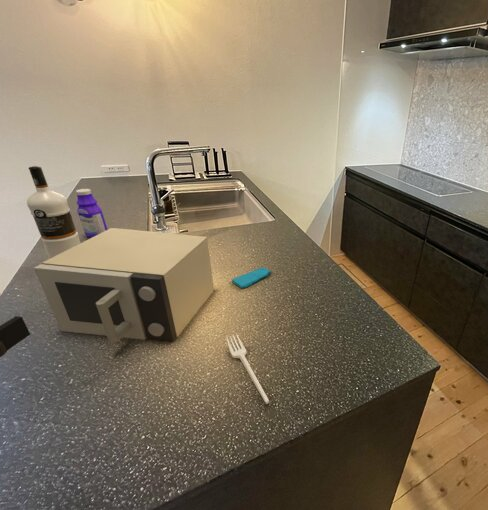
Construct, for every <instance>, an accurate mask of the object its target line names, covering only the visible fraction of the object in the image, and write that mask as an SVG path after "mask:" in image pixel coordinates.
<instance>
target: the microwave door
mask: <svg viewBox="0 0 488 510" xmlns="http://www.w3.org/2000/svg"><path fill="white" fill-rule="evenodd" d="M33 270H34V272H35V274H36V277H37V280H38V282H39V284H40V286H41V289H42V291H43V293H44V295H45V297H46V300H47V302H48V304H49V307H50V309H51V311H52V313H53V316H54V318H55V320H56V323H57V325H58V328H59V330H60V331H61V332H66V333H75V334H83V335H84V334H85V335H93V336H95V335H97V336H106V338H107V340H108V342H109V344H111V345H113V344H116V343H118V342H119V341H120V340H122V338H123V339H133V340H134V339H135V340H142V341H143V340H144V341H145V340H146V339H147V335H146V331H145V328H144V324H143V320H142V317H141V313H140V309H139V306H138V302H137V298H136V295H135V291H134V287H133V284H132V280H131V276H132V275H133V273H125V272H115V271H105V270H94V269H84V268H74V267H64V266H54V265H44V264H42V263H40V264H38V265H36V266H34V267H33Z"/></svg>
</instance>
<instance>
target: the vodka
mask: <svg viewBox="0 0 488 510" xmlns="http://www.w3.org/2000/svg"><path fill="white" fill-rule="evenodd" d="M28 170H29V174H30V176H31V178H32V181H33V185H34V186H35V190H36V191H35V192H34V193H32V194H31V195H30V196H29V197H28V198H27V200H26V206H27V208H28V209H29V211H30V215H31V216H32V217H33V219H34V221H35V222H34V223H35V225H36V227H37V230H38V232H39V235H40V240H41V241H42V243H43V246H44V248H45V251H46V255H47V260H49V259H51V258H53V257H55V256H56V255H58V254H60V253H62V252H64V251H66V250H68V249H70V248H72V247H74V246H76V245H78V244H80V243H82V242H81V240H80V237H79V232H78V231H77V229H76V225H75V223H74V219H73V217H72V214H71V209H70V207H69V203H68V199H67V198H66V197H65V196H64V195H63V194H62V193H60V192H59V193H58V192H56V191H53V190H50V188H49V185H48V182H47V179H46V176H45V173H44V171H43V167H41V166H40V165H38V166H37V165H33V166H28Z"/></svg>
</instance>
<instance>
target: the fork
mask: <svg viewBox="0 0 488 510" xmlns="http://www.w3.org/2000/svg"><path fill="white" fill-rule="evenodd" d="M235 335H236V337H235ZM235 335H234V334H232V335H229V336H226V342H227V345H228V346H227V347H228V350H229V353H230V356H231V357H232V358H233V359H239V360H240V361H241V363H242V365H243V366H244V368H245V370H246V372H247V373H248V376H249V377H250V379H251V381H252V382H253V384H254V387H256V390H257V391H258V393H259V395H260V396H261V398H262V400H263V402H264V404H265V405H268V404H270V403H271V402H270V400H269V397H268V396H267V394H266V392H265V391H264V389H263V387H262V385H261V383H260V382H259V380H258V378H257V376H256V374H255V372H254V371H253V369H252V366H251V365H250V363H249V361H248V360H247V357H246V355H247V353H248V351H247V348H246V347H245V345H244V344H243V342H242V340H241V339H240V337H239V335H238V333H237V332H235ZM236 338H237V339H236ZM229 339H230V340H229Z"/></svg>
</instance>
